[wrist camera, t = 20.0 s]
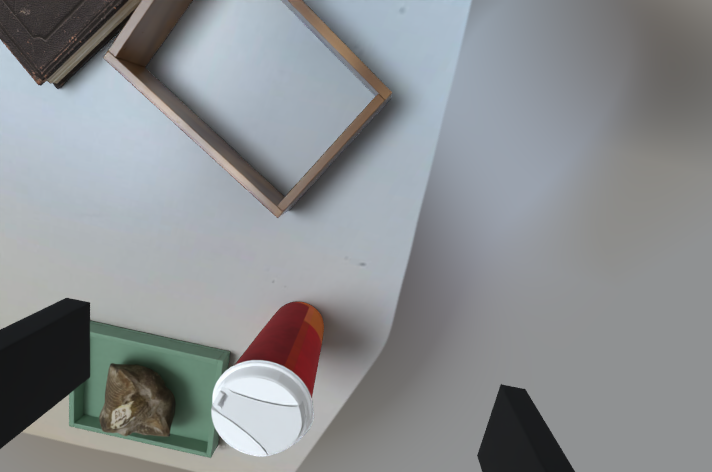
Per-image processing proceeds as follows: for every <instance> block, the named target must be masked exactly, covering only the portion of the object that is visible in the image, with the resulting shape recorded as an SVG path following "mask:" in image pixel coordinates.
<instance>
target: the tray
mask: <svg viewBox="0 0 712 472" xmlns="http://www.w3.org/2000/svg"><path fill="white" fill-rule="evenodd" d="M229 356H230V351H225V350H221V349H216V348H212V347H207V346H202V345H198V344H193V343H189V342H184V341H180V340H175V339H171V338H166V337H162V336H157V335H153V334H148V333H143V332H139V331H134V330H130V329H125V328H121V327H116V326H112V325H107V324H103V323H98V322H93V321H90V378H89V379H87V380H86V381H85V382H84V383H82V384H81V385H80V386H79V387H77V388H76V389H75V390H74V391H72V392H71V393H70V394H69V426H71V427H75V428H80V429H84V430H89V431H93V432H97V433H102V434H106V435H111V436H115V437H120V438H124V439H129V440H133V441H138V442H142V443H147V444H151V445H155V446H160V447H164V448H169V449H173V450H178V451H182V452H187V453H191V454H196V455H200V456H205V457H209V458H211V457H212V455H213V453H214V451H215V449H216V447H217V446H218V440H219V434H218V432H217V430H216V429H215V427H214V424H213V421H212V415H211V407H212V395H213V390H214V387H215V385H216V382H217V381H218V379H219V378H220V376H221V375H222V374H223V373H224V372H225V371H226V370H228V364H229ZM112 363H114V364H132V365H135V364H137V365H140V366H144V367H147V368H150V369H152V370H153V371H155V372H157V373H158V374H159V375H160V376H161V378H162V379H163V381H164V383H165V386H166V387H167V388H169V389H170V390H171V392H172V393H173V395H174V398H175V402H176V406H175V415H174V418H173V421H172V425H171V430H170V436H169V437H164V436H153V435H142V434H139V433H134V432H133V433H131V434H130V435H128V436H123V435H121V434H119V433H107V432H103V431H102V427H101V425H100V422H99V416H100V412H101V410H102V408H103V406H104V403H105V389H106V382H107V376H108V370H109V367H110V364H112Z"/></svg>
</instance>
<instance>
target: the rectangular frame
mask: <svg viewBox="0 0 712 472" xmlns="http://www.w3.org/2000/svg"><path fill="white" fill-rule="evenodd" d="M192 1H193V0H142V1H141V2H140V4H139V5H138V7H137V8H136V10H135V11H134V12H133V14H132V15H131V17H130V18H129V20H128V21H127V23H126V24H125V26H124V27H123V29H122V30H121V32H120V33H119V35H118V36H117V38H116V39H115V41H114V42H113V44H112V45H111V47H110V48H109V51H107V53H106V54H105V56H104V57H103V58H104V59H105V60H106V61H107V62H108V63H109V64H110V65H111V66H112V67H114V68H115V69H116V70H117V71H118V72H119V73H120V74H121V75H122V76H123V77H124V78H126V79H127V80H128V81H129V82H130V83H131V84H132V85H133V86H134V87H135V88H136V89H138V90H139V91H140V92H141V93H142V94H143V95H144V96H145V97H146V98H147V99H148V100H150V101H151V102H152V103H153V104H154V105H155V106H156V107H157V108H158V109H159V110H160V111H162V112H163V113H164V114H165V115H166V116H167V117H168V118H169V119H170V120H171V121H172V122H173V123H175V124H176V125H177V126H178V127H179V128H180V129H181V130H182V131H183V132H184V133H185V134H187V135H188V136H189V137H190V138H191V139H192V140H193V141H194V142H195V143H196V144H197V145H199V146H200V147H201V148H202V149H203V150H204V151H205V152H206V153H207V154H208V155H209V156H211V157H212V158H213V159H214V160H215V161H216V162H217V163H218V164H219V165H220V166H221V167H223V168H224V169H225V170H226V171H227V172H228V173H229V174H230V175H231V176H232V177H233V178H235V179H236V180H237V181H238V182H239V183H240V184H241V185H242V186H243V187H244V188H245V189H247V190H248V191H249V192H250V193H251V194H252V195H253V196H254V197H255V198H256V199H257V200H259V201H260V202H261V203H262V204H263V205H264V206H265V207H266V208H267V209H268V210H269V211H271V212H272V213H273V214H274V215H275V216H276V217H277V218H279V217H280V216H281V215H283V214H284V213H286V212H287V211H289V210H290V209H291V208H292V206H293V205H294V204H295V203H296V202H297V201H298V200H299V199H300V198H301V197H302V195H303V194H304V193H305V192H306V191H307V190H308V189H309V188H310V187H311V186H312V185H313V183H314V182H315V181H316V180H317V179H318V178H319V177H320V176H321V175H322V174H323V173H324V171H325V170H326V169H327V168H328V167H329V166H330V165H331V164H332V163H333V162H334V160H335V159H336V158H337V157H338V156H339V155H340V154H341V153H342V152H343V151H344V150H345V148H346V147H347V146H348V145H349V144H350V143H351V142H352V141H353V140H354V139H355V138H356V136H357V135H358V134H359V133H360V132H361V131H362V130H363V129H364V128H365V127H366V126H367V124H368V123H369V122H370V121H371V120H372V119H373V118H374V117H375V116H376V115H377V113H378V112H379V111H380V110H381V109H382V108H383V107H384V105H386V104H387V103H388V102H389V100H390V99H391V95H392V92H391V91H390V90H389V89H388V88H387V87H386V86H385V85H384V84H383V83H382V82H381V81H380V80H379V78H378V77H377V76H376V75H375V74H374V73H373V72H372V71H371V70H370V69H369V68H368V67H367V66H366V65H365V64H364V63H363V62H362V61H361V60H360V59H359V58H358V57H357V56H356V55H355V54H354V53H353V52H352V51H351V50H350V49H349V48H348V47H347V46H346V45H345V44H344V43H343V42H342V41H341V40H340V39H339V37H338V36H337V35H336V34H335V33H334V32H333V31H332V30H331V29H330V28H329V27H328V26H327V25H326V24H325V23H324V22H323V21H322V20H321V19H320V18H319V17H318V16H317V15H316V14H315V13H314V12H313V11H312V10H311V9H310V8H309V7H308V6H307V5H306V4H305V3H304V2H303V1H302V0H281V1H282V2H283V3H284V4H285V5H286V6H287V7H288V8H289V9H290V10H291V11H292V12H293V13H294V14H295V15H296V16H297V17H298V18H299V19H300V20H301V21H302V22H303V23H304V24H305V25H306V26H307V27H308V28H309V29H310V30H311V31H312V32H313V33H314V34H315V35H316V36H317V37H318V38H319V39H320V40H321V41H322V42H323V43H324V44H325V46H326V47H327V48H328V49H329V50H330V51H331V52H332V53H333V54H334V55H335V56H336V57H337V58H338V59H339V60H340V61H341V62H342V63H343V64H344V65H345V66H346V67H347V68H348V69H349V70H350V71H351V72H352V73H353V74H354V75H355V76H356V77H357V78H358V79H359V80H360V81H361V82H362V83H363V84H364V85H365V86H366V87H367V88H368V89H369V90H370V91H371V92H372V93H373V94H374V95H375V98H374V99H373V100H372V101H371V102H370V103H369V104H368V105H367V106H366V108H365V109H364V110H363V111H362V112H361V113H360V114H359V115H358V116H357V118H356V119H355V120H354V121H353V122H352V123H351V124H350V125H349V126H348V128H347V129H346V130H345V131H344V132H343V133H342V134H341V135H340V136H339V137H338V139H337V140H336V141H335V142H334V143H333V144H332V145H331V146H330V147H329V149H328V150H327V151H326V152H325V153H324V154H323V155H322V156H321V157H320V159H319V160H318V161H317V162H316V163H315V164H314V165H313V166H312V167H311V169H310V170H309V171H308V172H307V173H306V174H305V175H304V176H303V177H302V179H301V180H300V181H299V182H298V183H297V184H296V185H295V186H294V187H293V189H292V190H291V191H290V192H289V193H288V194H287V195H286V196H285V197H284V196H283V195H282V194H281V193H280V192H279V191H277V190H276V189H275V188H274V187H273V186H272V185H271V184H270V183H269V182H268V181H267V180H266V179H265V178H263V177H262V176H261V175H260V174H259V173H258V172H257V171H256V170H255V169H254V168H253V167H252V166H251V165H250V164H248V163H247V162H246V161H245V160H244V159H243V158H242V157H241V156H240V155H239V154H238V153H237V152H236V151H234V150H233V149H232V148H231V147H230V146H229V145H228V144H227V143H226V142H225V141H224V140H223V139H222V138H220V137H219V136H218V135H217V134H216V133H215V132H214V131H213V130H212V129H211V128H210V127H209V126H208V125H206V124H205V123H204V122H203V121H202V120H201V119H200V118H199V117H198V116H197V115H196V114H195V113H194V112H192V111H191V110H190V109H189V108H188V107H187V106H186V105H185V104H184V103H183V102H182V101H181V100H180V99H178V98H177V97H176V96H175V95H174V94H173V93H172V92H171V91H170V90H169V89H168V88H167V87H166V86H164V85H163V84H162V83H161V82H160V81H159V80H158V79H157V78H156V77H155V76H154V75H153V74H152V73H151V72H149V71H148V70H147V69H146V68H145V67H146V66H147V64H148V63H149V62H150V60H151V59H152V57H153V56H154V55H155V53H156V52H157V50H158V49H159V47H160V46H161V45H162V43H163V42H164V40H165V39H166V38H167V36H168V35H169V33H170V32H171V31H172V29H173V28H174V26H175V25H176V23H177V22H178V21H179V19H180V18H181V16H182V15H183V14H184V12H185V11H186V9H187V8H188V7H189V5H190V4H191V2H192Z"/></svg>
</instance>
